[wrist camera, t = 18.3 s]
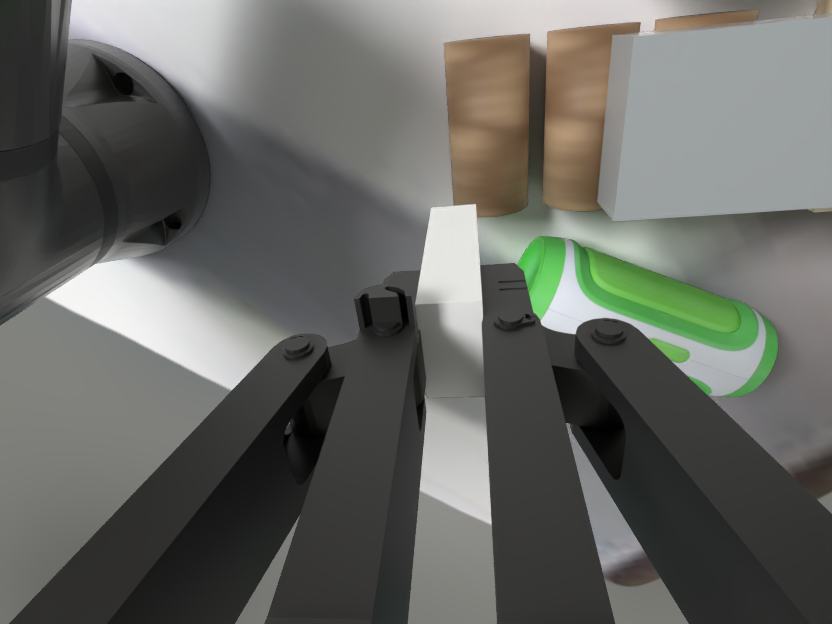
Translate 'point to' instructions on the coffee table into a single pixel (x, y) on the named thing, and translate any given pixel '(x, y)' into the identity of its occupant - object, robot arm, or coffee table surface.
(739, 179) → the slab
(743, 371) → the speaker
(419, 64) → the coffee table surface
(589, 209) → the roller bed
